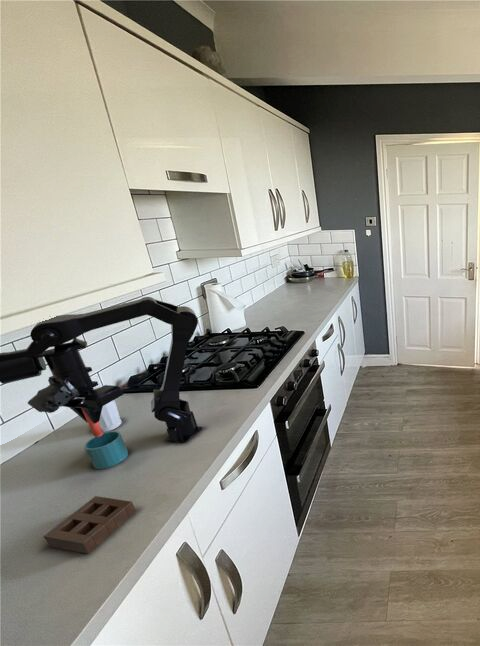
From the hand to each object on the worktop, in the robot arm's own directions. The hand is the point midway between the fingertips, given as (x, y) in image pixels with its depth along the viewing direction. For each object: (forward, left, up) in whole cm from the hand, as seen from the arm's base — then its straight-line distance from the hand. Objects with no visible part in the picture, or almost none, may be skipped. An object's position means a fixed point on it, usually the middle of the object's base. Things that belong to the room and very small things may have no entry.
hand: (93, 422), depth 89 cm
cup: (-13, -17, -13) cm, 25 cm away
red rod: (0, 0, -4) cm, 5 cm away
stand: (+17, +17, -13) cm, 28 cm away
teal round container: (-1, -1, -13) cm, 13 cm away
